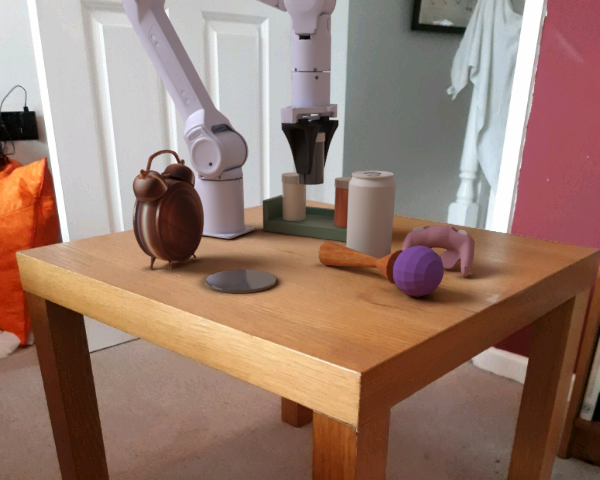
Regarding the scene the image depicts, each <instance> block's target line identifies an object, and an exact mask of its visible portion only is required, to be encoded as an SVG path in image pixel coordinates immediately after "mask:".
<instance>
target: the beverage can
mask: <svg viewBox="0 0 600 480" xmlns="http://www.w3.org/2000/svg"><path fill="white" fill-rule="evenodd" d="M351 177H352V179H351V180H350V182H349V192H348V218H347V242H346V246H345V247H348V248H350V249H353V250H356V251H359V252H361V253H364V254H367V255H370V256H372V257H375V258H378V259H380V258H382V257H385V256H387V255H389V254H391V253H392V242H393V228H394V218H395V217H394V216H395V215H394V214H395V203H396V189H397V188H396V187H397V183H396V181H395V179H394V177H395V174H394V173H393V172H390V171H385V170H356V171H353V172H352V173H351Z"/></svg>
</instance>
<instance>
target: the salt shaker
mask: <svg viewBox="0 0 600 480" xmlns="http://www.w3.org/2000/svg"><path fill="white" fill-rule="evenodd" d="M281 193H282V194H281V195H282V218H283V219H284V220H287V221H302V220H305V219H306V206H307V185H303V184H299V183H298V174H297V172H293V171H292V172H284V173H283V172H282V173H281Z"/></svg>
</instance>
